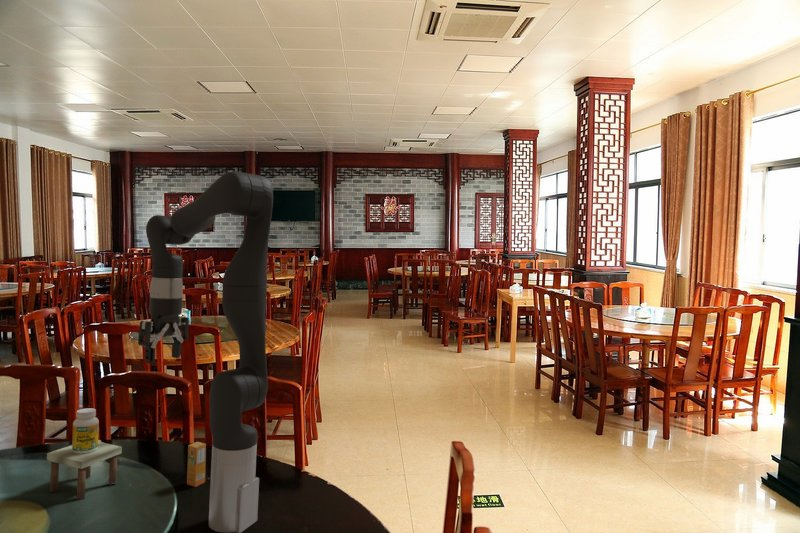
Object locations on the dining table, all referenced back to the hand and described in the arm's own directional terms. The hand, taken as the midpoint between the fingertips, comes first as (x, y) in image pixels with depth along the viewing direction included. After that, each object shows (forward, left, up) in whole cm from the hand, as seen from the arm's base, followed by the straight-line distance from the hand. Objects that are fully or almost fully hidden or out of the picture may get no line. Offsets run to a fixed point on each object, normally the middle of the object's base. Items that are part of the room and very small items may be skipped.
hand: (163, 360), depth 136 cm
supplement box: (-10, -2, -30) cm, 32 cm away
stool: (+12, +12, -30) cm, 34 cm away
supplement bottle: (+11, +12, -21) cm, 27 cm away
